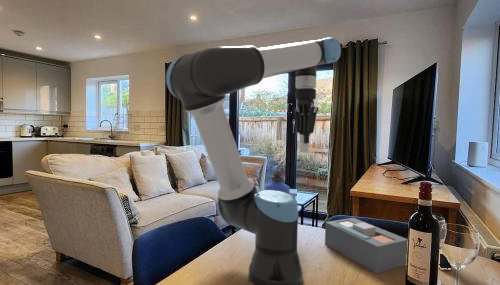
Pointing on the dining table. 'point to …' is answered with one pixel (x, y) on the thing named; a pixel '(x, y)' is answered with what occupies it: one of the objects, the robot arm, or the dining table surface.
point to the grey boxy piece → (366, 246)
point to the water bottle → (277, 183)
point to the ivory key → (347, 224)
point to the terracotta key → (382, 239)
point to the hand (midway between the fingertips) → (304, 151)
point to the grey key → (365, 229)
